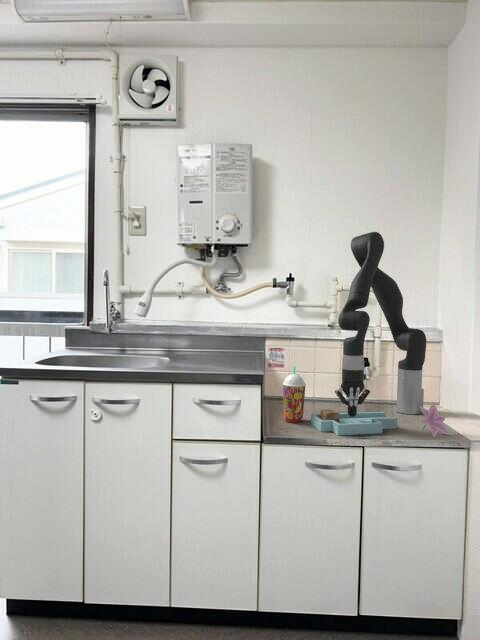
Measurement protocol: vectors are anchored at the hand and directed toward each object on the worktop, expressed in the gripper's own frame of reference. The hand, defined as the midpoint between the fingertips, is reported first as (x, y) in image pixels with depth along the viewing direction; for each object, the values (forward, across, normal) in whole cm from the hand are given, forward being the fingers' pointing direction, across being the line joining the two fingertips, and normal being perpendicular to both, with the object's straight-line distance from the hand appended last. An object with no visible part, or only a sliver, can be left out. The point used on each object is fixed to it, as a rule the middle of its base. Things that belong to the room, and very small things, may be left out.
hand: (351, 416), depth 184 cm
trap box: (+4, -1, +2) cm, 4 cm away
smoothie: (+4, +18, -10) cm, 21 cm away
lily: (+4, -24, +13) cm, 27 cm away
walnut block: (+2, +8, -1) cm, 8 cm away
